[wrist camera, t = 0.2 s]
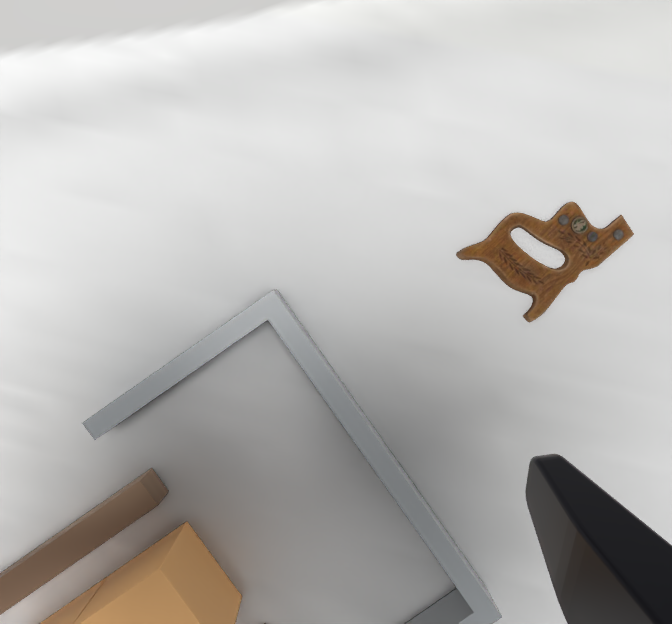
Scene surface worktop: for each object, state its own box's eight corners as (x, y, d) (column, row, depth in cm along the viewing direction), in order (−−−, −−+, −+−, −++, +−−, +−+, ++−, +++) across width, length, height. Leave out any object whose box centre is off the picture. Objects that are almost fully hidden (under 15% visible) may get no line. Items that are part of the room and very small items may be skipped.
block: (242, 595, 24) (226, 657, 20) (165, 648, 24) (133, 721, 20) (187, 520, 24) (159, 568, 20) (109, 574, 24) (66, 632, 20)
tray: (487, 589, 24) (502, 616, 22) (318, 705, 24) (317, 743, 22) (277, 289, 23) (272, 290, 21) (102, 411, 23) (82, 423, 21)
